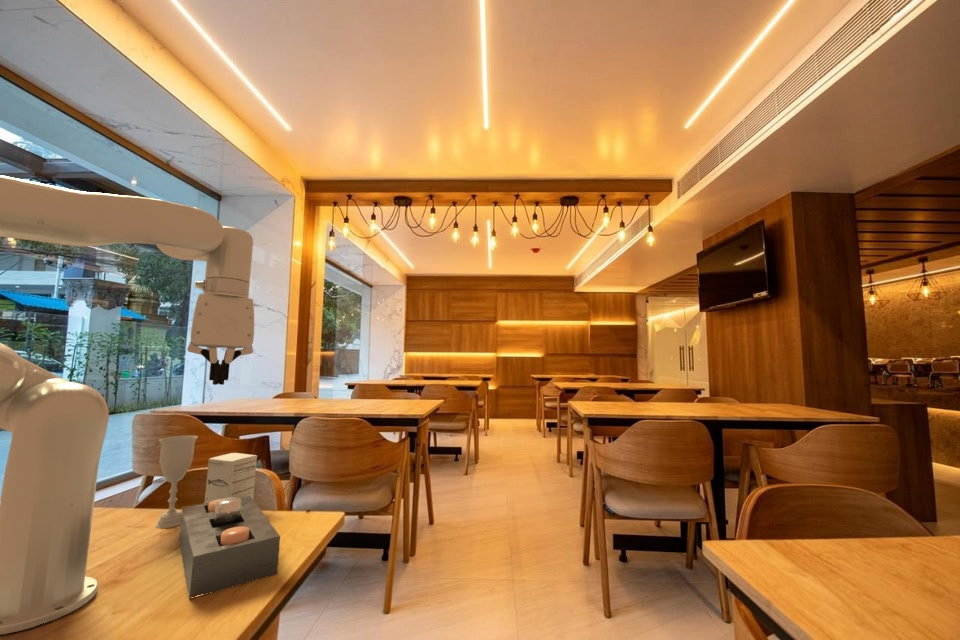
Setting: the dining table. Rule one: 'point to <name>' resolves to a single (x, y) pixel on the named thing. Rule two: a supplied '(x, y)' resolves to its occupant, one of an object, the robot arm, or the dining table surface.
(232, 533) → the near knob
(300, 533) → the dining table surface
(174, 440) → the chalice
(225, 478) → the supplement box
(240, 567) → the knob housing
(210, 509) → the far knob
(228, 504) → the middle knob
